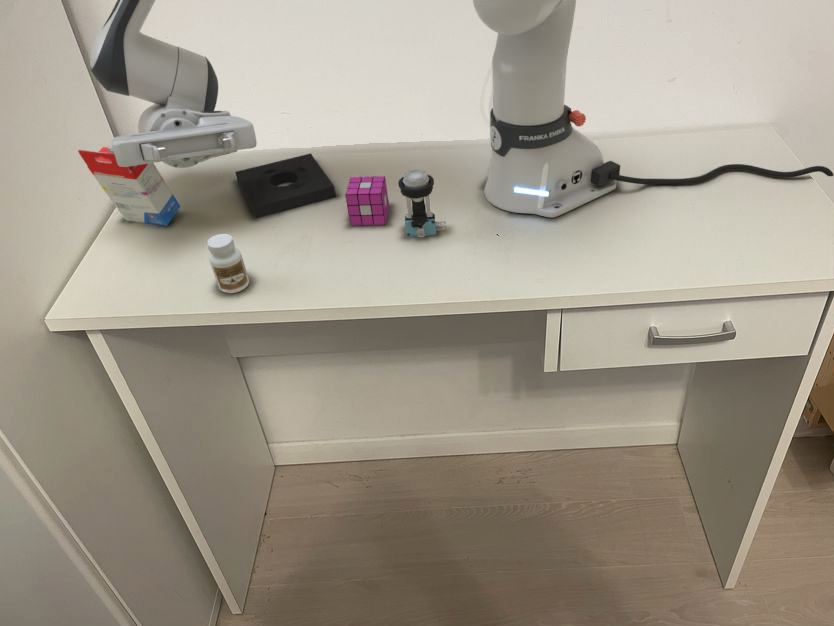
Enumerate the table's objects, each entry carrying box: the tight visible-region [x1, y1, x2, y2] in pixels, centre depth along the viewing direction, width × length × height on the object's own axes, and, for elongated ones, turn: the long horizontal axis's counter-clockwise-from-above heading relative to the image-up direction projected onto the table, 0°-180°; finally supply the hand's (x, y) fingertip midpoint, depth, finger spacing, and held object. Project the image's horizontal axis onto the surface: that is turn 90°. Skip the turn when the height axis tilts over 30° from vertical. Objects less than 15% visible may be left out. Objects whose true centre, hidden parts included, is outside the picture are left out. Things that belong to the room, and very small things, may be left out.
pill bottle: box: [206, 233, 250, 294], centre depth 98 cm, size 4×4×8 cm
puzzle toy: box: [344, 175, 390, 227], centre depth 111 cm, size 6×6×6 cm
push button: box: [397, 169, 447, 238], centre depth 105 cm, size 7×5×10 cm
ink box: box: [77, 146, 181, 227], centre depth 109 cm, size 8×5×15 cm, turn 73°
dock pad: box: [234, 153, 337, 219], centre depth 120 cm, size 14×14×2 cm
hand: (195, 149), depth 97 cm, fingers open, 8 cm apart
